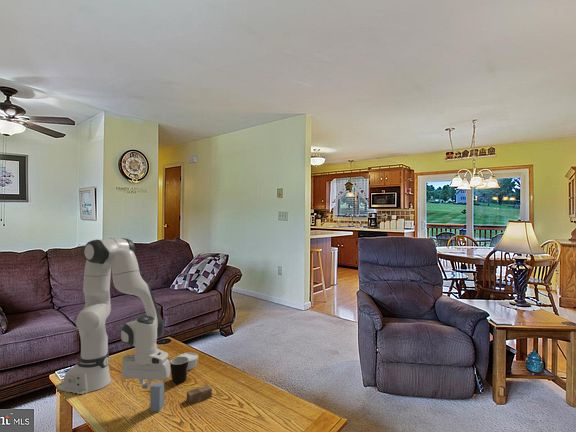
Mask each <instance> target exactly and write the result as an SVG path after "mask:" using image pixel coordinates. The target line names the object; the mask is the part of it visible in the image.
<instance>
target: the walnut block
mask: <svg viewBox="0 0 576 432" xmlns="http://www.w3.org/2000/svg"><path fill="white" fill-rule="evenodd" d="M212 396H213V388H212V386H210V385H209V384H205V385H203V386H199V387H197V388H193V389H190V390H187V391H186V401H187V402H188V404H189V405H191V404H195V403H198V402H200V401H204V400H207V399H210V398H212Z"/></svg>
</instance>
